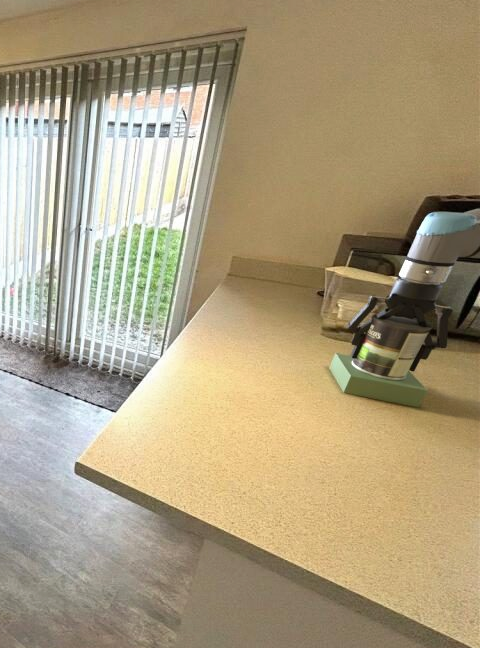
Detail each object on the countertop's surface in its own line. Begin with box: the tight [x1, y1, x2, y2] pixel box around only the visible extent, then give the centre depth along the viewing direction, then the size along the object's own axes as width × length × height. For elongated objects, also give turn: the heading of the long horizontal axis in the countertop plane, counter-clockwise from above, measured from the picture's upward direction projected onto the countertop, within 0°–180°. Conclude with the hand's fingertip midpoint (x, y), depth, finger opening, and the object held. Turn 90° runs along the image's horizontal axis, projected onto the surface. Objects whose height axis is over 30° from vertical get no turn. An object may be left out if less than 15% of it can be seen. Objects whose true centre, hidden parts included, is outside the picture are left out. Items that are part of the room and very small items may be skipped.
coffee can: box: [352, 312, 432, 380], centre depth 99 cm, size 10×10×14 cm
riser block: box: [328, 352, 428, 408], centre depth 103 cm, size 14×14×5 cm
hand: (381, 362), depth 101 cm, fingers closed on coffee can, 10 cm apart
